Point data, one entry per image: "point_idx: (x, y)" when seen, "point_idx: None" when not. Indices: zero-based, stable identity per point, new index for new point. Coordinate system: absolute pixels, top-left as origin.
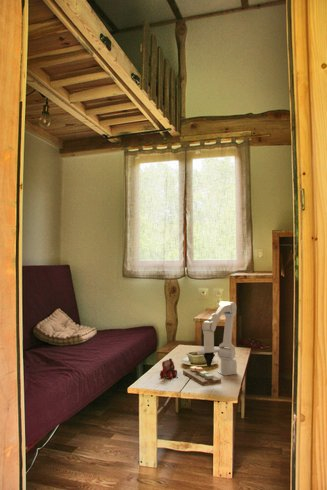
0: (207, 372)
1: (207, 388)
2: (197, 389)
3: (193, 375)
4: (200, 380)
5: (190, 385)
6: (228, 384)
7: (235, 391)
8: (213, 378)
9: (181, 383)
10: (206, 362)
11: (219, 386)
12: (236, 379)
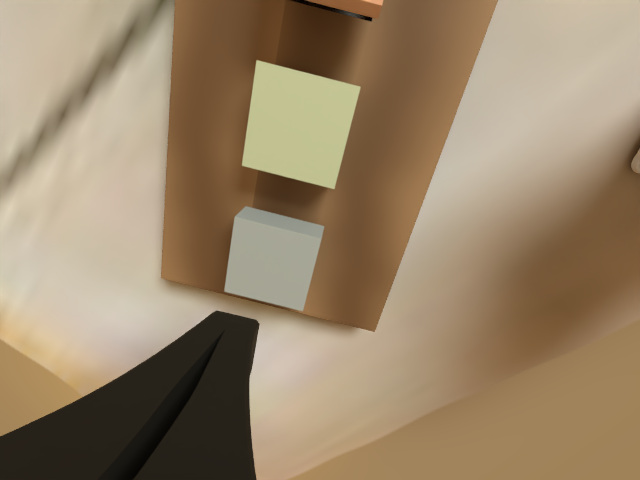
0: (338, 169)
1: (171, 336)
2: (85, 308)
3: (193, 15)
4: (163, 236)
5: (73, 198)
6: (386, 371)
7: (304, 471)
8: (327, 272)
9: (8, 89)
10: (172, 347)
11: (286, 359)
12: (576, 331)
